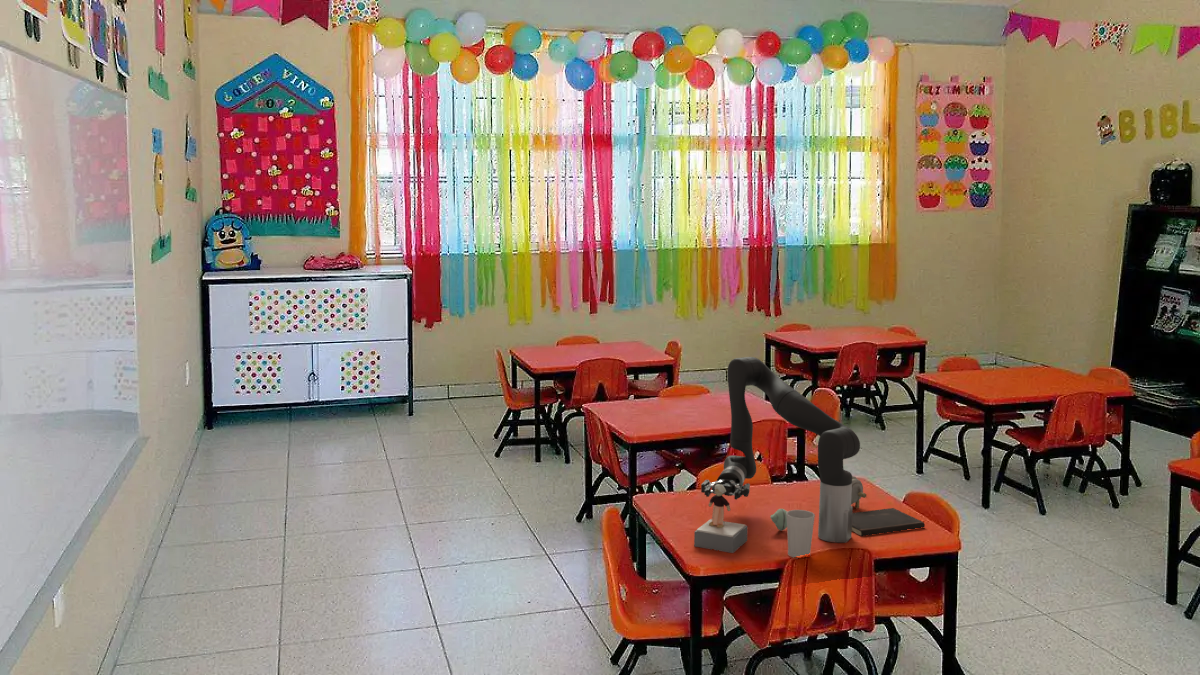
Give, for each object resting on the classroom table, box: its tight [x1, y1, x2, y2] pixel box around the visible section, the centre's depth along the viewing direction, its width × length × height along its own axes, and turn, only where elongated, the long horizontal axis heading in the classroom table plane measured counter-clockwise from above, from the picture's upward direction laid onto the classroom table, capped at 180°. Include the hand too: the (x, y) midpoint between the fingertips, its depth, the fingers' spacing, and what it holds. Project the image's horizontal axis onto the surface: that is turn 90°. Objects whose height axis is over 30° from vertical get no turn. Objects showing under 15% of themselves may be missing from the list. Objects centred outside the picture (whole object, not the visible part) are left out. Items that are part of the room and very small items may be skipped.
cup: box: [786, 509, 816, 558], centre depth 298 cm, size 8×8×12 cm
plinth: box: [693, 518, 748, 554], centre depth 307 cm, size 12×12×5 cm
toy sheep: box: [851, 475, 867, 509], centre depth 343 cm, size 11×17×11 cm, turn 39°
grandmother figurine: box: [708, 484, 731, 528], centre depth 307 cm, size 8×4×13 cm, turn 59°
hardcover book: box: [852, 507, 926, 537], centre depth 326 cm, size 16×23×2 cm
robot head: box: [770, 508, 788, 531], centre depth 319 cm, size 8×4×7 cm, turn 104°
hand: (721, 494), depth 310 cm, fingers open, 8 cm apart
